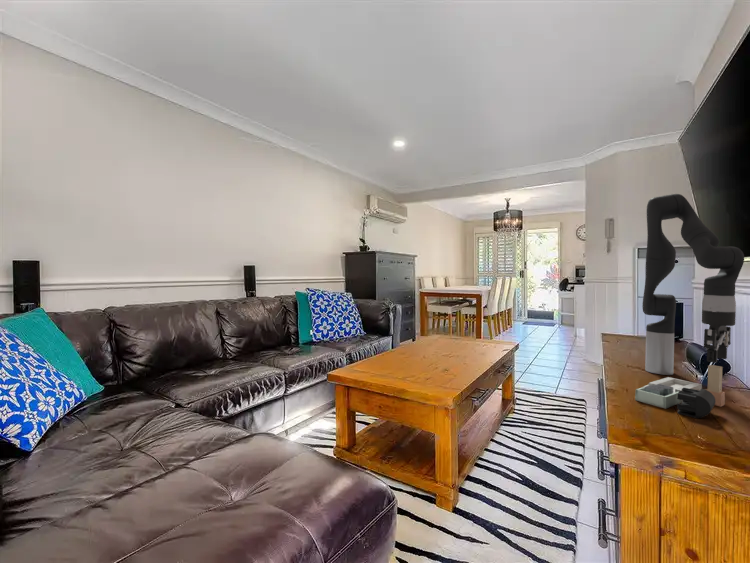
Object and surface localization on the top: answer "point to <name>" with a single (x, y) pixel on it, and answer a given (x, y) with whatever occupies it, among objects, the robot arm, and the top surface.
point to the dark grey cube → (655, 390)
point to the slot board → (677, 384)
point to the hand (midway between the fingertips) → (716, 360)
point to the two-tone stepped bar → (716, 384)
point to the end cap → (695, 402)
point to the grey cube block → (666, 389)
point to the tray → (656, 398)
